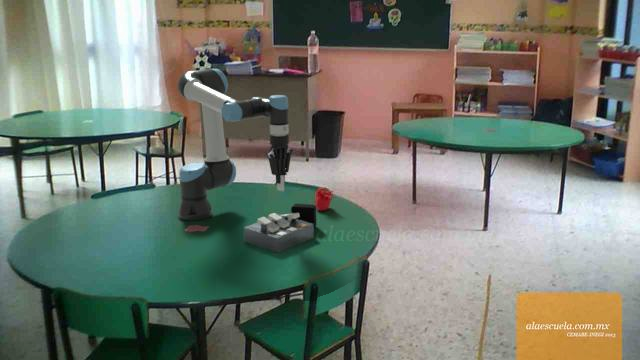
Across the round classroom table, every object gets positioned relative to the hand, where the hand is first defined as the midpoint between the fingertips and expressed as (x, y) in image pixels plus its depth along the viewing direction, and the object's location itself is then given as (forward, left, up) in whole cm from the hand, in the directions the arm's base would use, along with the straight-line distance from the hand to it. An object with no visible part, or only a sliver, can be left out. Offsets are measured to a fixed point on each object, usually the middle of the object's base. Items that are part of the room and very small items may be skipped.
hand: (280, 190), depth 258 cm
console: (+5, -6, -19) cm, 20 cm away
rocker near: (+5, -12, -11) cm, 17 cm away
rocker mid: (+5, -6, -11) cm, 13 cm away
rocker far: (+5, 0, -11) cm, 11 cm away
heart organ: (-7, +34, -19) cm, 40 cm away
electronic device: (+3, +10, -19) cm, 22 cm away
